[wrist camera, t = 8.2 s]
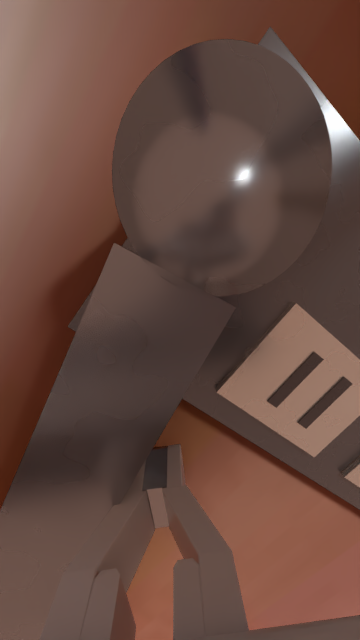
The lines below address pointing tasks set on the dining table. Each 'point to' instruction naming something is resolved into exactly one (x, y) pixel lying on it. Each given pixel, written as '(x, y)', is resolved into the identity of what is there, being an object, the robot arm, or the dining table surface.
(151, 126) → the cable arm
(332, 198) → the double power outlet
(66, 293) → the dining table surface
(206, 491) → the dining table surface
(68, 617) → the robot arm
